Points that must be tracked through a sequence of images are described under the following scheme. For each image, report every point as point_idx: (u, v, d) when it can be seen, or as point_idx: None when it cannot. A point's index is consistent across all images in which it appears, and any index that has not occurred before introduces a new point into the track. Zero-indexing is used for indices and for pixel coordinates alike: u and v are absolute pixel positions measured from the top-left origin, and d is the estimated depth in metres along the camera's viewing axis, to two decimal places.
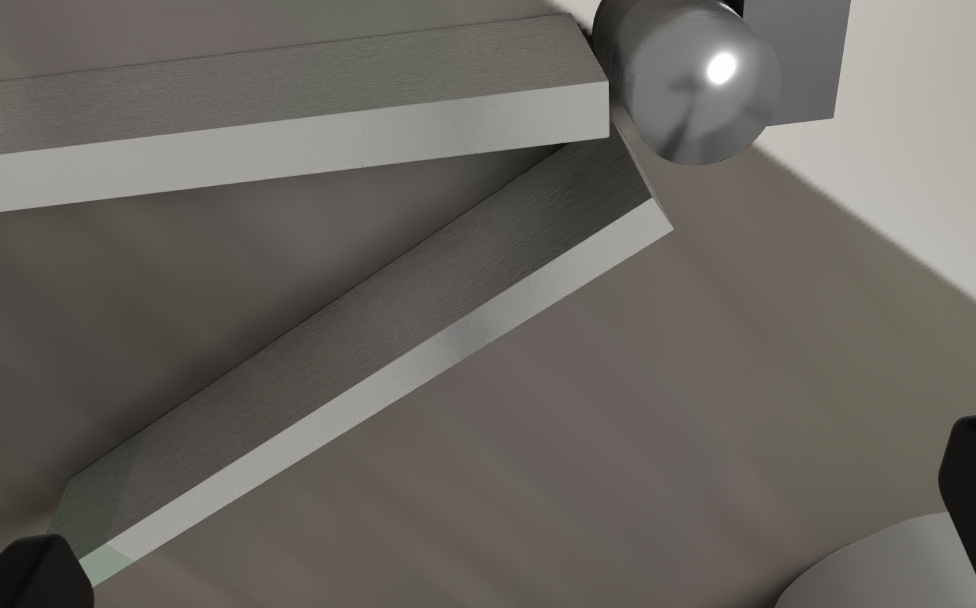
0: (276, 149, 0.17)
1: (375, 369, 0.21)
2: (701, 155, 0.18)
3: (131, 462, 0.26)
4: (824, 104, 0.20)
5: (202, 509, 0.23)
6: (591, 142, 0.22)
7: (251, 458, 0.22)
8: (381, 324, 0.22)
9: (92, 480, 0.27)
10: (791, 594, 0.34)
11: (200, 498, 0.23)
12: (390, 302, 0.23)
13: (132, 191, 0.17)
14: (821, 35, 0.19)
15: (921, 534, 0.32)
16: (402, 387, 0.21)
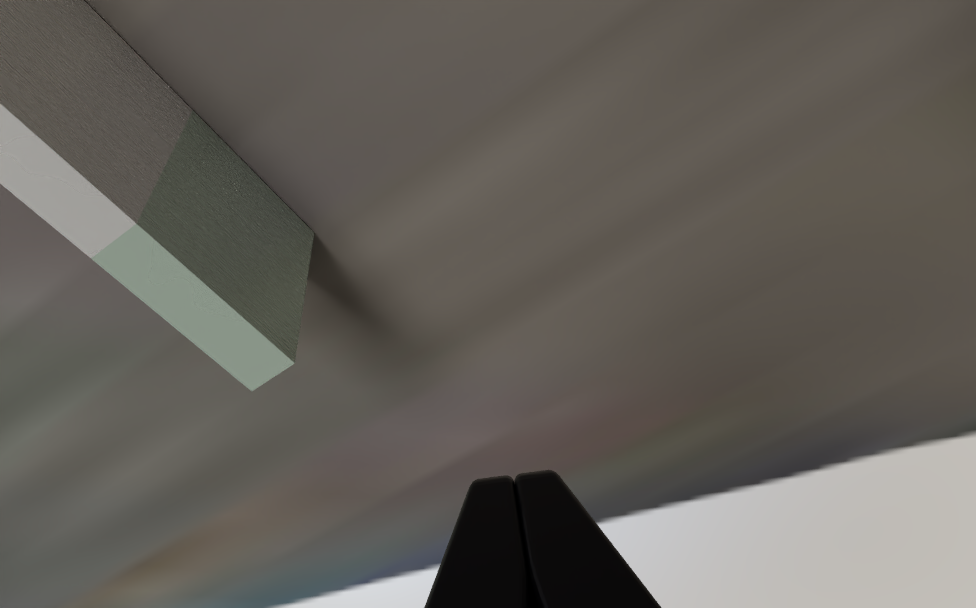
0: None
1: None
2: None
3: None
4: None
5: None
6: None
7: None
8: None
9: None
10: None
11: None
12: None
13: None
14: None
15: None
16: None
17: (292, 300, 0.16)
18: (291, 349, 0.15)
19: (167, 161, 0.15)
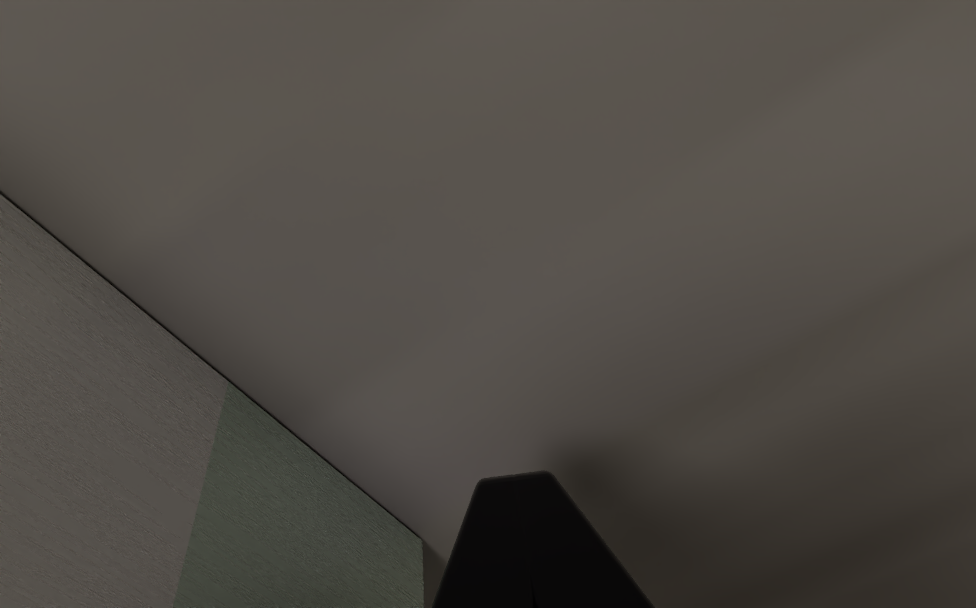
0: None
1: None
2: None
3: None
4: None
5: None
6: None
7: None
8: None
9: None
10: None
11: None
12: None
13: None
14: None
15: None
16: None
17: None
18: None
19: (186, 549, 0.08)
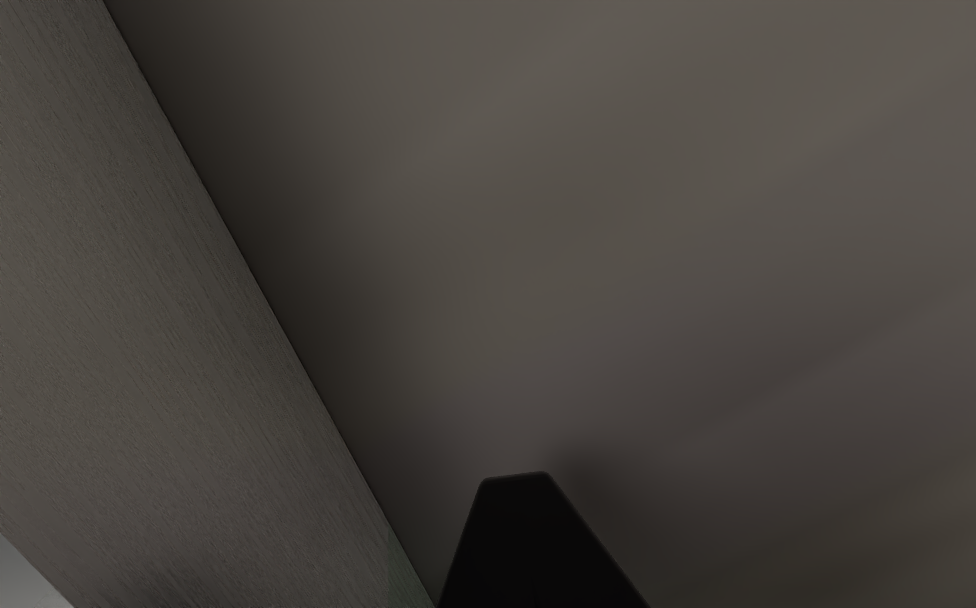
0: None
1: None
2: None
3: None
4: None
5: None
6: None
7: None
8: None
9: None
10: None
11: None
12: None
13: None
14: None
15: None
16: None
17: None
18: None
19: None
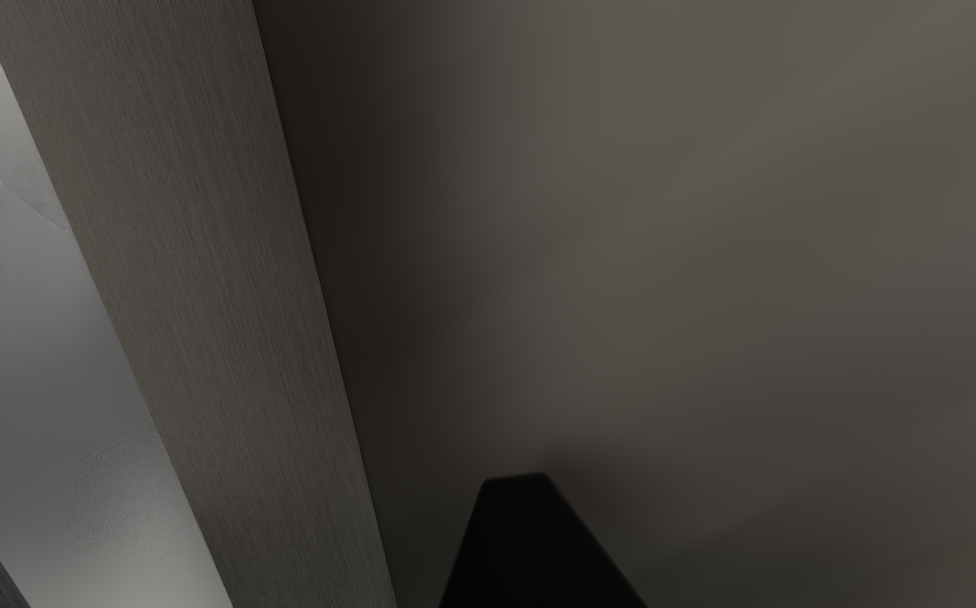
0: None
1: None
2: None
3: None
4: None
5: None
6: None
7: None
8: None
9: None
10: None
11: None
12: None
13: None
14: None
15: None
16: None
17: None
18: None
19: None
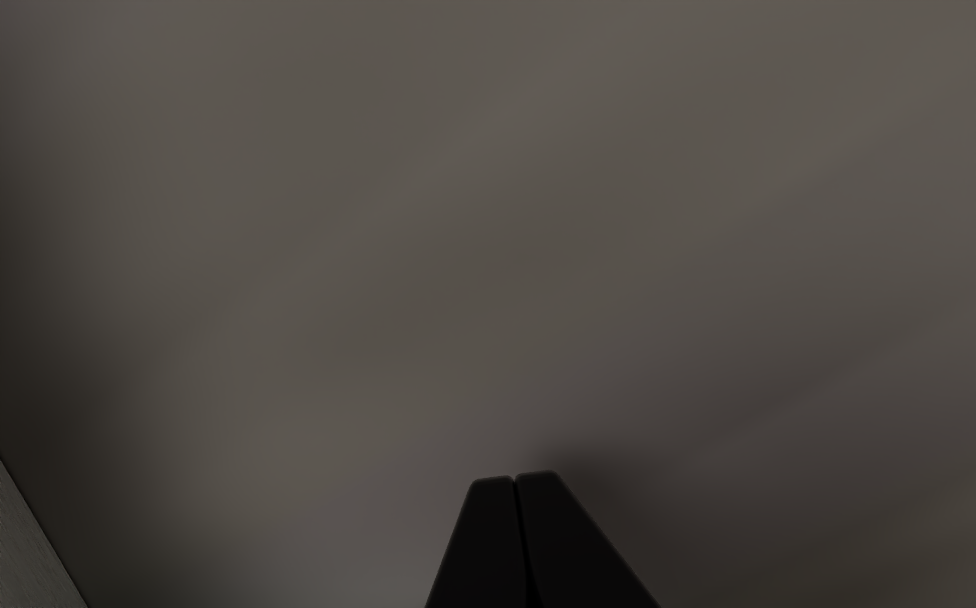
0: None
1: None
2: None
3: None
4: None
5: None
6: None
7: None
8: None
9: None
10: None
11: None
12: None
13: None
14: None
15: None
16: None
17: None
18: None
19: None
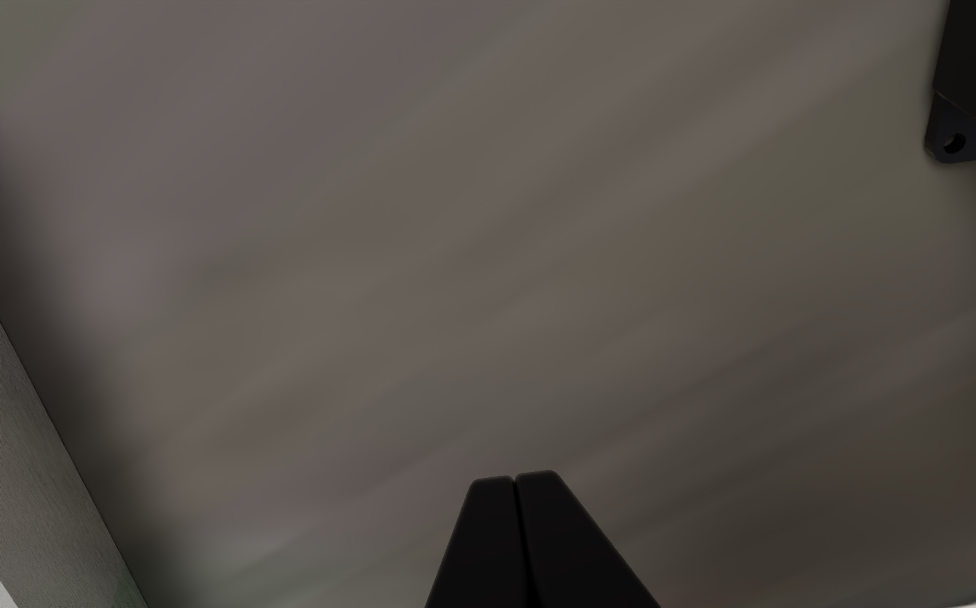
0: None
1: None
2: None
3: None
4: None
5: None
6: None
7: None
8: None
9: None
10: None
11: None
12: None
13: None
14: None
15: None
16: None
17: None
18: None
19: None
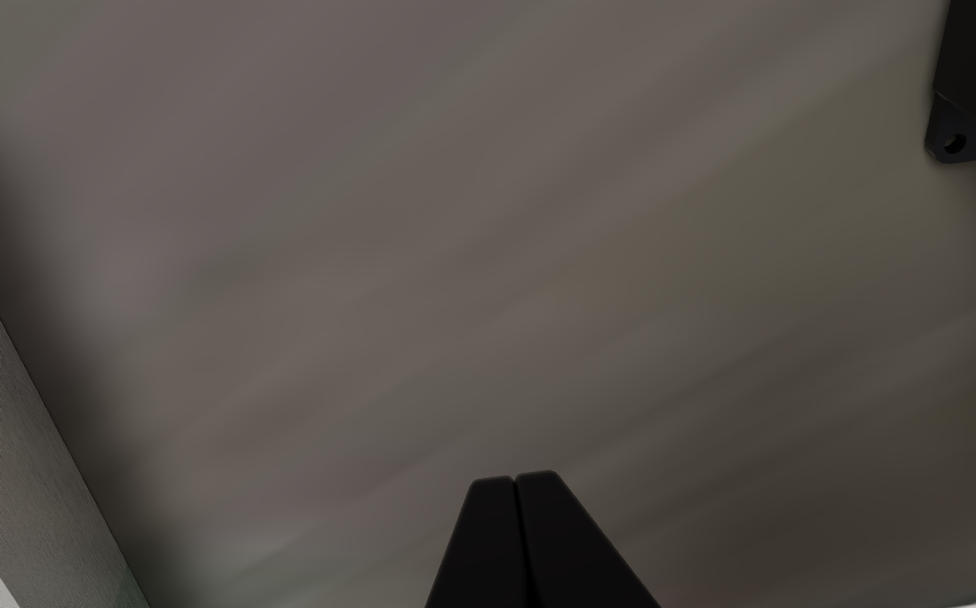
0: None
1: None
2: None
3: None
4: None
5: None
6: None
7: None
8: None
9: None
10: None
11: None
12: None
13: None
14: None
15: None
16: None
17: None
18: None
19: None
